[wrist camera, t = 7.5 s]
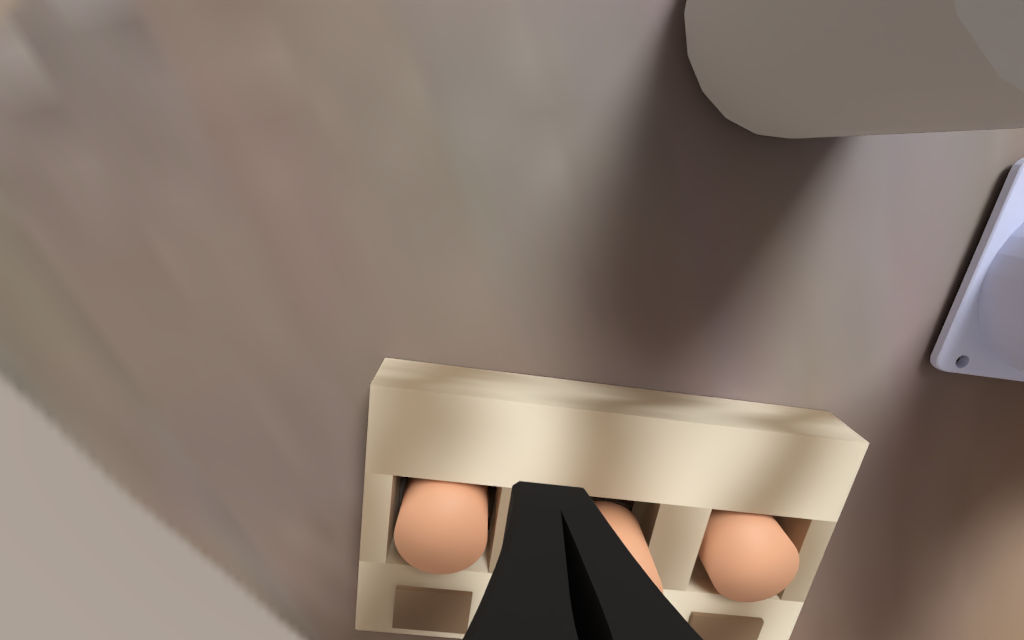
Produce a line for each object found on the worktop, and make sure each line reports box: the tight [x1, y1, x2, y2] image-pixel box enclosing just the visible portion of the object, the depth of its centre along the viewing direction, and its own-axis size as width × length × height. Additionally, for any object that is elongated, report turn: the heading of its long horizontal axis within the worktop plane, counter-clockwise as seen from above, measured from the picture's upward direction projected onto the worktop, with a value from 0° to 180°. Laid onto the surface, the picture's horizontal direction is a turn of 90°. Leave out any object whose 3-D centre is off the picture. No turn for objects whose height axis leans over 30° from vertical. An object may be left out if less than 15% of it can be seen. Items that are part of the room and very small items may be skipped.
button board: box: [355, 358, 869, 640], centre depth 21 cm, size 18×11×3 cm, turn 82°
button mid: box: [594, 501, 663, 593], centre depth 18 cm, size 3×3×3 cm
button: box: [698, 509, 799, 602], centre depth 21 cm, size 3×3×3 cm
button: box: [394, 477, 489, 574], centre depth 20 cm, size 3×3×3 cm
